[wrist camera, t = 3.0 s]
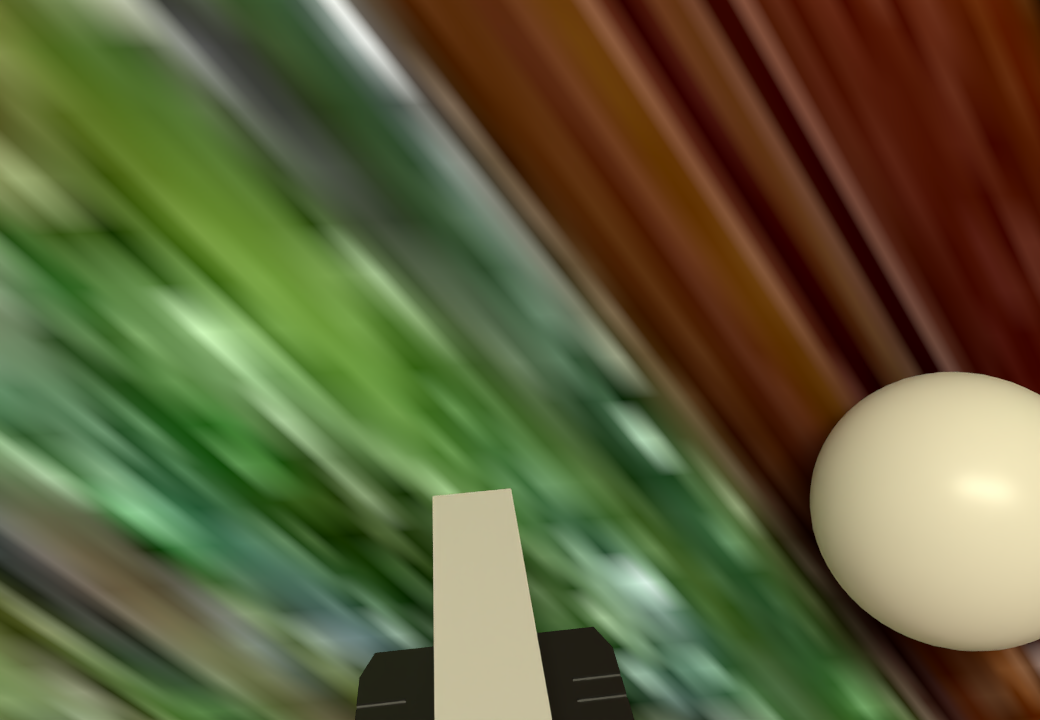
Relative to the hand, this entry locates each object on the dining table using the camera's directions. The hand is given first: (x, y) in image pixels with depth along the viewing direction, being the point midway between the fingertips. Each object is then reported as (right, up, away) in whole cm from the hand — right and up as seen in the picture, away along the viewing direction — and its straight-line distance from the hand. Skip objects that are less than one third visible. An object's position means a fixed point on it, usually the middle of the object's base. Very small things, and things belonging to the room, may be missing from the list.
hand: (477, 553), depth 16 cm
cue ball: (+10, +1, +1) cm, 10 cm away
